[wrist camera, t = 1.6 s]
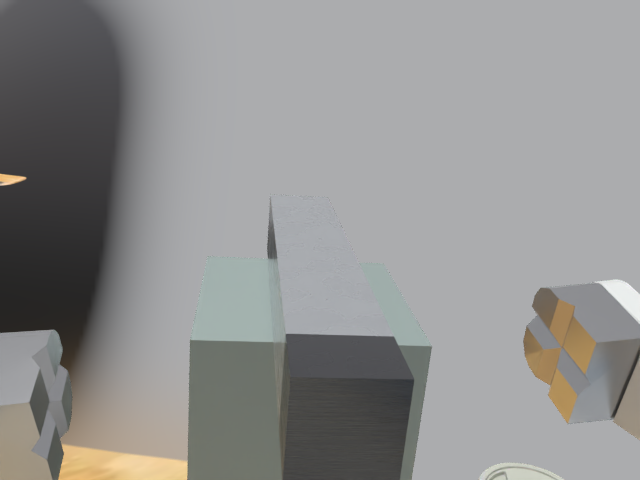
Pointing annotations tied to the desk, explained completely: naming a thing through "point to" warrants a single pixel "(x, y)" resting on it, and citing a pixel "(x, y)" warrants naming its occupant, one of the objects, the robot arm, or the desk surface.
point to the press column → (266, 371)
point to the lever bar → (331, 352)
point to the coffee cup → (517, 472)
